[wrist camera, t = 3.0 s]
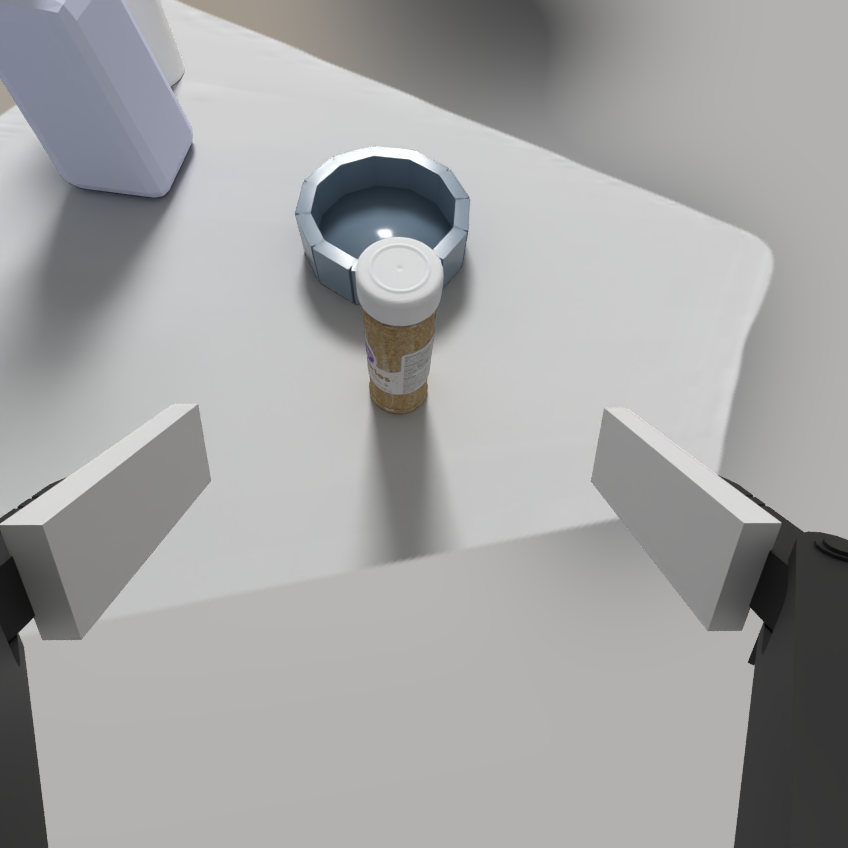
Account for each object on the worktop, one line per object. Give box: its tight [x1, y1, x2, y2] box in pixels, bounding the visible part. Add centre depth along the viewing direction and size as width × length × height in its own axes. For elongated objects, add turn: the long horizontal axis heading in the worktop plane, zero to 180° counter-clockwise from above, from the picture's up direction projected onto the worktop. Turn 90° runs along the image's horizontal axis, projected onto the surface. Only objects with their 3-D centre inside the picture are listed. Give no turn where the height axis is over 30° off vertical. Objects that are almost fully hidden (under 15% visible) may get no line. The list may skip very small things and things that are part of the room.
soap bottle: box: [0, 0, 193, 198], centre depth 33 cm, size 10×14×22 cm
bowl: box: [295, 146, 470, 305], centre depth 39 cm, size 14×14×4 cm
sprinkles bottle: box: [355, 237, 444, 413], centre depth 29 cm, size 5×5×13 cm
